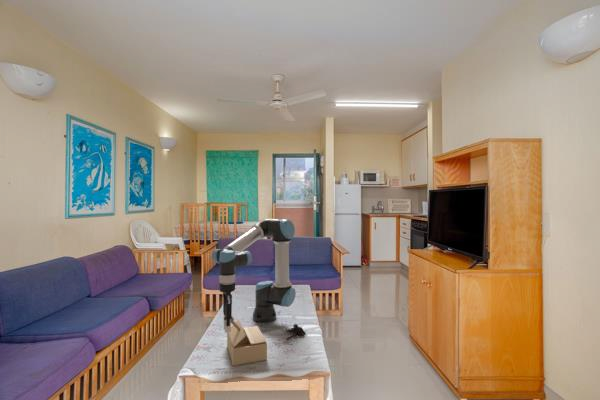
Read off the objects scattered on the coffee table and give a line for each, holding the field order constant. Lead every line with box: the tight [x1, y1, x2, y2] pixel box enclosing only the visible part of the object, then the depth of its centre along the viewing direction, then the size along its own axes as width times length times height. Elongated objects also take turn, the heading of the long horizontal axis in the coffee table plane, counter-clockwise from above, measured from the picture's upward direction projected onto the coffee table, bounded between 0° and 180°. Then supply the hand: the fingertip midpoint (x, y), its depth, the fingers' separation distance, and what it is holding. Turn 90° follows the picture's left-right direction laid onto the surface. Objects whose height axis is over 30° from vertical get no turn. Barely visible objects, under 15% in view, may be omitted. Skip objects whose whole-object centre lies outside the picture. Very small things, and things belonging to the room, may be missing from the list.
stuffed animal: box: [285, 323, 306, 341], centre depth 176 cm, size 12×10×12 cm
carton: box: [226, 325, 268, 367], centre depth 154 cm, size 20×16×9 cm
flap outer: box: [228, 316, 246, 347], centre depth 151 cm, size 19×7×10 cm
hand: (227, 330), depth 151 cm, fingers closed on flap outer, 3 cm apart
